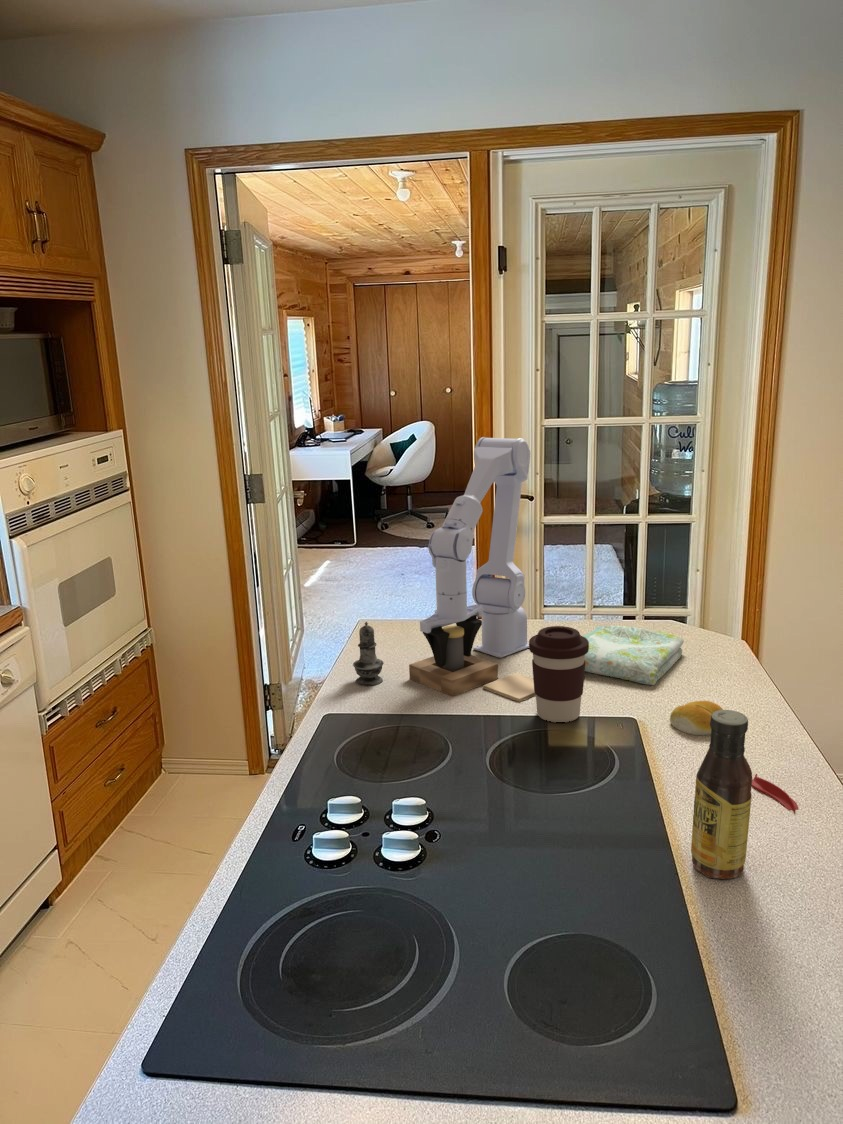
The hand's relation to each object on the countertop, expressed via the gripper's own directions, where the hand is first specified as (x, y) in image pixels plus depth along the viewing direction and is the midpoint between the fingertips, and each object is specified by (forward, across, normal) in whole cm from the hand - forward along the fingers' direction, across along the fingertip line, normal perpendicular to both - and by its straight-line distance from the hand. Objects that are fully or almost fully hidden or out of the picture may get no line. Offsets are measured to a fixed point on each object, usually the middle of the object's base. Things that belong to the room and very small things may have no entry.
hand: (453, 659), depth 163 cm
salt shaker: (+4, +12, -11) cm, 17 cm away
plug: (+4, 0, 0) cm, 4 cm away
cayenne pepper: (+5, -1, +63) cm, 63 cm away
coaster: (+4, -5, +12) cm, 14 cm away
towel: (+5, -30, +18) cm, 35 cm away
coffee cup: (+4, -1, +25) cm, 25 cm away
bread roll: (+4, -14, +44) cm, 46 cm away
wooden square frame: (+4, 0, 0) cm, 4 cm away
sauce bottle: (+4, +20, +67) cm, 70 cm away
